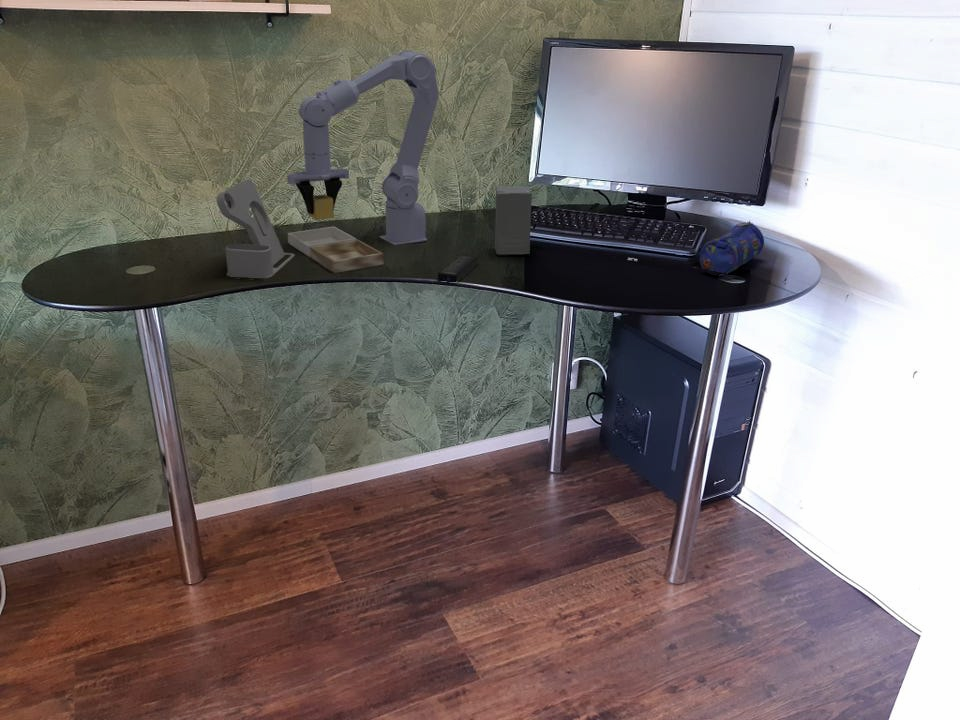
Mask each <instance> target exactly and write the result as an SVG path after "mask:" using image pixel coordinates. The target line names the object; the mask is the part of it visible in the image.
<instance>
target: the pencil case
mask: <svg viewBox="0 0 960 720" xmlns="http://www.w3.org/2000/svg"><path fill="white" fill-rule="evenodd" d="M764 238H765V237H764V235H763V233H762V231H761V230H760V229H759V227H758V226H756V225H755V224H754V222H751V220H749V221H747V222H745V221H744V222H741V223H737V224H736V225H734V226H733V227H732V228H730V229H729V231H727V232H726V233H724V235H722V236H721V237H717V238H715V239H711V240H709V241H708V242H706V243H705V244H704V245H703V247H702V248H701V249H700V250H701V251H700V253H699V254H700V255H699V263H700V267H701V268H705V269H709V270H712V271H716V272H721V273H726V274H727V275H728V273H729V274H730V273H731V272H733V271H735V270H737V269H738V268H739V267H741V266H743V265H745V264H746V263H748V262H749V261H751V260H752V259H754V257H756V256H758V255H759V254H761V252H762V250H763V248H764V246H765V239H764ZM755 255H756V256H755Z"/></svg>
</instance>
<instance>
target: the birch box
mask: <svg viewBox="0 0 960 720" xmlns="http://www.w3.org/2000/svg"><path fill="white" fill-rule="evenodd" d="M310 253H311V257H310V258H311V259H312V261H315V262H316V263H318V264H320V265H321V266H322V267H324V268H325V269H327V270H329V271H330V272H332V273H333V274H334V276H336V275H337V276H338V275H339V273H340V274H341V275H342V274H344V272H345V274H346V273H347V274H348V273H350V271H351V273H353V272H355V271H356V272H358V271H361V269H362V271H365V270H367V268H368V270H370V269H372V268H373V269H376V268H378V266H379V268H381V267H383V266H384V261H385V260H384V259H385V258H384V253H383V252H382V251H380V250H378V249H376V248H374V247H372V246H371V245H369V244H367V243H365V242H363V241H361V240H360V239H357V240H353V241H347V242H340V243H334V244H327V245H321V246H315V247H310ZM341 272H342V273H341Z"/></svg>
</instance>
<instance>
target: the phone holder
mask: <svg viewBox="0 0 960 720" xmlns="http://www.w3.org/2000/svg"><path fill="white" fill-rule="evenodd" d="M216 205H217V207H218V209H219V211H220V213H221V214H222V216H224V217H225V218H227V219H228V220H230V221H232V222H233V223H235V224H237V225H239V226H241V227H242V228H244V229H245V230H246V232H247V234H248V237H249V239H250V241H251V243H252V244H251V243H250V244H248V243H231V244H227V245H226V246H225V249H224V250H225V256H226V257H225V259H226V267H227V272H226V277H227V276H230V277H248V278H265V279H268V278H272V277H273V276H274V275H276V274H277V272H279V270H281V269H282V268H283V267H284V266H286V264H287V263H289V261H291V260H292V259H293V258H294V257H295V253H290V252H284V249H283V247H282V245H281V243H280V240H279V238H278V236H277V233H276V231H275V229H274V226H273V224H272V222H271V219H270V217H269V215H268V213H267V210H266V207H265V205H264V203H263V201H262V199H261V196H260V194H259V191H258V189H257V188H256V184H255V183H254V181H253V180H251V179H246V180H245V179H244V180H242V181H240V182H238V183H236V184H235V185H233V186H231V187H229V188H228V189H225V190H224V191H221V192H219V194H217V195H216ZM250 209H251V211H252V215H251V214H250ZM285 256H289V257H288V258H287V259H285V260H284V261H283V262H282V263H281V264H279V265H278V266H277V267H274V265H275V264H277V263H278V262H279V261H280V260H281V259H282V258H284V257H285Z"/></svg>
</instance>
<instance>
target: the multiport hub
mask: <svg viewBox="0 0 960 720" xmlns="http://www.w3.org/2000/svg"><path fill="white" fill-rule="evenodd" d="M477 264H478V265H479V257H478V256H473V255H472V256H471V255H466V254H460V255H458V256H457V257H455V259H454V260H452V261H451V262H450V263H448V264H447V265H446V266H444V267H443V268H442V269H441V270H439V271H438V272H437V282H438V281H447V282H456V281H457V280H459V279H460V278H461V277H463V276H464V275H465V274H467V273H468V272H469V271H470V270H472V269H473V268H474V267H475V266H476V265H477ZM476 267H477V266H476ZM476 267H475V268H476ZM475 268H474V269H475ZM474 269H473V270H474ZM473 270H472V271H473ZM468 274H469V273H468ZM468 274H467V275H468ZM443 279H444V280H443Z"/></svg>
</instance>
